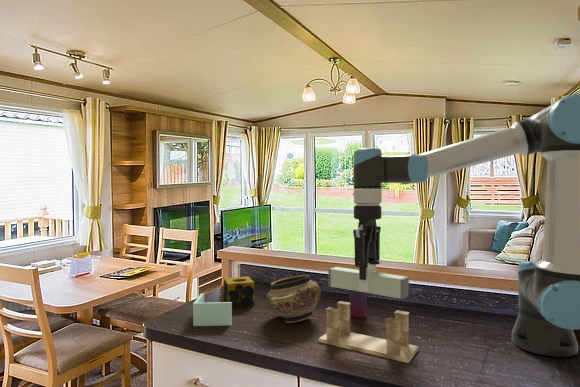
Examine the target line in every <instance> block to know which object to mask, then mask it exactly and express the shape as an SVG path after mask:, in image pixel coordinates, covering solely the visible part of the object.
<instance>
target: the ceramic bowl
mask: <svg viewBox="0 0 580 387" xmlns="http://www.w3.org/2000/svg"><path fill="white" fill-rule="evenodd" d="M269 286H270V290H269V291H268V293H267V294H266V298H265V299H266V300H265V301H266V304H267V306H268V308H269V310H270V311H272V312H273V313H274V314H275V315H278V316H279V317H282V318H283V321H284V323H288V324H290V323H291V324H294V323H297V322H301V321H304V320H307V319H309V318H311V317H312V316H313V312H312V311H313V310H314V309H315V308H316V306H317V305H318V303H319V301H320V300H321V296H322V295H321V292H322V291H321V288H320V286H319V284H318V283H317V282H316V281H314V280H311V276H310V275H309V274H303V275H302V274H301V275H296V276H295V275H294V276H290V277H285V278H281V279H277V280H276V281H275V280H274V281H273V282H271V283H270V285H269Z"/></svg>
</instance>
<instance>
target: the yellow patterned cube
mask: <svg viewBox="0 0 580 387" xmlns="http://www.w3.org/2000/svg"><path fill="white" fill-rule="evenodd" d="M222 298H223V299H222V300H223V302H232V309H236V308H238V309H239V308H245V307H246V308H247V307H253V306H255V281H254V280H252V279H251V277H250V276H248V275H247V276H233V277H223V296H222Z"/></svg>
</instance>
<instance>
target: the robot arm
mask: <svg viewBox="0 0 580 387" xmlns="http://www.w3.org/2000/svg"><path fill="white" fill-rule="evenodd" d="M536 153H537V154H538V153H540V155H541V157H543V158H544V159H545V160H546V161H547V166H546V167H547V168H546V184H545V185H546V188H545V208H544V225H543V226H544V228H543V245H542V247H543V249H542V258H541V259H540V260H539V261H537V260H536V261H532V260H531V261H530V260H529V261H526V260H525V261H524V260H522V261H520V262H519V264H518V268H517V281H518V282H517V284H518V285H517V287H518V288H517V289H518V298H517V300H518V315H517V317H516V320H515V323H514V324H513V328H512V331H511V342H512V344H513V345H515V346H516V347H518V348H520V349H522V350H525V351H527V352H530V353H534V354H538V355H542V356H548V357H555V358H556V357H558V358H564V357H565V358H567V357H573V356H575V355H577V354H578V353H579V343H578V340H577V338H576V335H575V332H574V331H575V330H580V93H574V94H570V95H566V96H563V97H561V98H558V99H557V100H556V101H555V102H554V103H552V104H551V105H549V106H547V107H545V108H544V109H542V110H541V111H539V112H537V113H535V114H533V115H532V116H531V115H530V116H529V117H527V118H524V119H522V120H518V121H515V122H514V123H513V124H511V127H508V128H504V129H500V130H497V131H494V132H491V133H490V132H489V133H487V134H484V135H480V136H476V137H473V138H469V139H466V140H463V141H460V142H457V143H453V144H449V145H445V146H443V147H439V148H436V149H433V150H430V151H426V152H422V153H419V154H418V153H417V154H416V153H412V154H399V155H397V154H396V155H395V154H394V155H387V154H386V155H385V154H382V150H381V148H378V147H377V148H376V147H363V148H358V149H356V150H355V151H354V153H353V165H352V166H353V192H352V196H353V203H354V204H355V205H354V206H353V218H354V219H355V220H358V224H357V229H355V228H354V229H353V238H354V239H353V240H354V266H355V268H358V270H359V291H364V292H369V271H370V272H377V265H380V260H381V259H380V254H381V253H380V251H381V248H380V245H381V236H380V235H381V226H379V225H377V224H378V223H377V220H381V219H382V205H380V204H382V202H383V199H382V190H383V189H382V184H388V183H389V184H401V185H410V184H419V183H425V182H427V181H428V179H429V178H432V177H436V176H439V175H444V174H447V173H451V172H455V171H458V170H462V169H467V168H470V167H473V166H478V165H480V164H485V163H488V162H492V161H495V160H500V159H503V158H507V157H510V156H513V155H517V154H518V155H519V154H520V155H522V156H523V157H524V156H529V155H533V154H536Z"/></svg>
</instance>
